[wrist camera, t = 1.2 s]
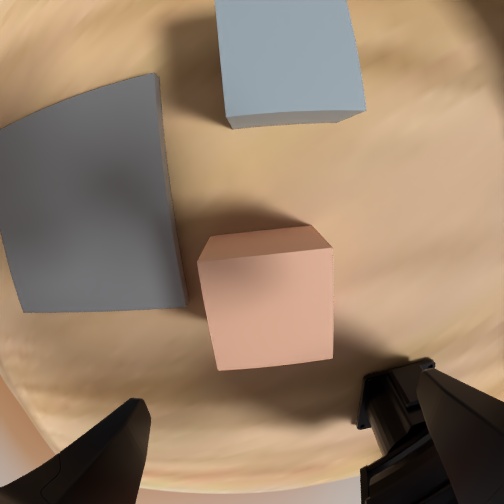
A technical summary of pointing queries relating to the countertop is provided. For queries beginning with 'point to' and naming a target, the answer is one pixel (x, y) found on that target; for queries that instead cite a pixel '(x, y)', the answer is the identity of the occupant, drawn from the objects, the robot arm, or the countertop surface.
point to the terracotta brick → (268, 297)
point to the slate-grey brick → (288, 62)
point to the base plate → (91, 204)
